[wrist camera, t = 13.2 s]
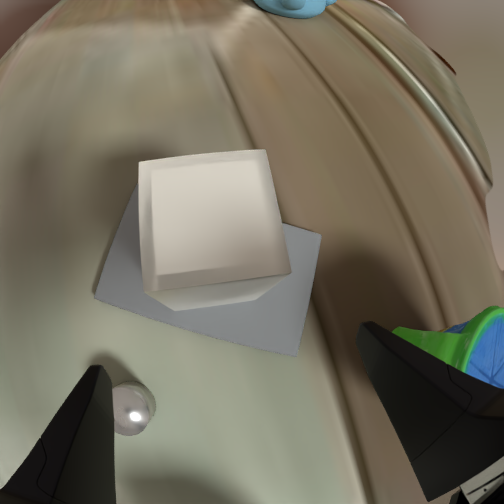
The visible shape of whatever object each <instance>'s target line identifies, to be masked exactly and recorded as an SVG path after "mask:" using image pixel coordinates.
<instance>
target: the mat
mask: <svg viewBox="0 0 504 504" xmlns="http://www.w3.org/2000/svg"><path fill="white" fill-rule="evenodd" d="M282 226H283V231H284V235H285V240H286V245H287V250H288V255H289V260H290V265H291V270H292V273H291V274H289V275H288V276H287V277H285V278H284V279H283V280H281V281H280V282H279V283H277V284H276V285H275V286H274V287H272V288H271V289H270V290H268V291H267V292H266V293H264V294H263V295H262V296H260V297H259V298H258V299H256V300H252V301H246V302H239V303H232V304H225V305H218V306H211V307H203V308H195V309H188V310H179V311H174V310H172V309H170V308H169V307H167V306H165V305H164V304H162V303H160V302H159V301H157V300H155V299H154V298H152V297H151V296H149V295H147V294H146V293H144V290H143V279H142V266H141V252H140V232H139V184H136V187H135V189H134V191H133V193H132V196H131V198H130V200H129V202H128V205H127V207H126V210H125V212H124V214H123V217H122V219H121V222H120V224H119V227H118V229H117V232H116V235H115V237H114V240H113V243H112V245H111V248H110V251H109V253H108V256H107V259H106V262H105V265H104V268H103V271H102V274H101V277H100V280H99V283H98V286H97V290H96V293H95V296H94V298H95V299H97V300H100V301H103V302H105V303H108V304H111V305H113V306H116V307H119V308H122V309H124V310H127V311H130V312H133V313H136V314H139V315H142V316H145V317H148V318H151V319H154V320H157V321H160V322H163V323H166V324H169V325H172V326H176V327H179V328H182V329H186V330H189V331H192V332H196V333H199V334H203V335H206V336H210V337H214V338H217V339H221V340H225V341H229V342H233V343H237V344H240V345H245V346H249V347H253V348H257V349H261V350H266V351H270V352H275V353H279V354H284V355H289V356H294V357H297V353H298V349H299V345H300V341H301V336H302V332H303V328H304V323H305V319H306V314H307V309H308V305H309V300H310V295H311V290H312V285H313V280H314V275H315V270H316V264H317V259H318V253H319V248H320V242H321V236H322V235H320V234H317V233H314V232H311V231H307V230H304V229H301V228H298V227H294V226H291V225H288V224H284V223H282Z"/></svg>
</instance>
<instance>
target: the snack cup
mask: <svg viewBox="0 0 504 504" xmlns="http://www.w3.org/2000/svg"><path fill="white" fill-rule="evenodd" d="M392 333H394V334H396V335H398V336H399V337H401V338H403V339H405V340H407V341H408V342H410V343H412V344H414V345H415V346H417V347H419V348H421V349H423V350H424V351H426V352H428V353H430V354H431V355H433V356H435V357H437V358H439V359H440V360H442V361H444V362H446V364H447V363H448V364H449V365H451V366H453V367H455V368H457V369H459V370H460V371H462V372H464V373H466V374H468V375H471V376H473V377H475V378H477V379H479V380H482V381H484V382H486V383H489V384H491V385H493V386H496V387H498V388H502V389H504V308H500V307H499V306H490V307H488V308H486V309H485V310H484V311H483V312H481V313H479V314H478V315H476V316H475V317H474V318H473V319H471V320H470V321H467V322H465V323H463V324H459V325H455V326H452V327H449V328H446V329H443V330H440V331H437V332H436V331H422V330H413V329H408V328H405V327H397V328H396V329H394V330H393V331H392Z"/></svg>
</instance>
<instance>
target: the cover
mask: <svg viewBox="0 0 504 504" xmlns="http://www.w3.org/2000/svg"><path fill="white" fill-rule="evenodd" d="M139 232H140V252H141V266H142V279H143V290H144V293H146V294H147V295H149V296H151V297H152V298H154V299H155V300H157V301H159V302H160V303H162V304H164V305H165V306H167V307H169V308H170V309H172V310H174V311H179V310H188V309H195V308H203V307H211V306H218V305H225V304H232V303H239V302H246V301H252V300H256V299H258V298H259V297H260V296H262V295H263V294H264V293H266V292H267V291H268V290H270V289H271V288H272V287H274V286H275V285H276V284H277V283H279V282H280V281H281V280H283V279H284V278H285V277H287V276H288V275H289V274H291V273H292V270H291V265H290V260H289V255H288V250H287V245H286V240H285V235H284V231H283V226H282V221H281V216H280V212H279V207H278V203H277V198H276V193H275V189H274V184H273V180H272V176H271V171H270V167H269V163H268V158H267V154H266V150H265V149H261V150H243V151H229V152H217V153H206V154H196V155H187V156H178V157H170V158H162V159H155V160H148V161H142V162H139Z"/></svg>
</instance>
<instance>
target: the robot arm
mask: <svg viewBox="0 0 504 504" xmlns="http://www.w3.org/2000/svg"><path fill="white" fill-rule="evenodd" d="M356 345H357V348H358V350H359V353H360V355H361V358H362V361H363V363H364V366H365V368H366V371H367V374H368V376H369V378H370V381H371V383H372V385H373V387H374V389H375V390H376V392H377V394H378V396H379V398H380V400H381V402H382V404H383V406H384V408H385V410H386V412H387V415H388V417H389V419H390V421H391V423H392V425H393V427H394V429H395V431H396V433H397V435H398V437H399V439H400V441H401V444H402V446H403V448H404V450H405V452H406V454H407V456H408V459H409V461H410V462H411V466H412V468H413V470H414V472H415V474H416V477H417V479H418V481H419V483H420V486H421V488H422V490H423V493H424V495H425V497H426V499H427V501H428V502H430V501H432V500H434V499H436V498H438V497H440V496H442V495H443V494H445V493H447V492H449V491H451V490H453V489H455V488H456V487H458V486H459V487H460V490H458V491H457V492H456V493H454V494H453V495H452V496H451V500H450V503H449V504H504V389H502V388H498V387H496V386H493V385H491V384H489V383H486V382H484V381H482V380H479V379H477V378H475V377H473V376H471V375H468V374H466V373H464V372H462V371H460V370H459V369H457V368H455V367H453V366H451V365H449V364H448V363H447V364H446V362H444V361H442V360H440V359H439V358H437V357H435V356H433V355H431V354H430V353H428V352H426V351H424V350H423V349H421V348H419V347H417V346H415V345H414V344H412V343H410V342H408V341H407V340H405V339H403V338H401V337H399V336H398V335H396V334H394V333H392V332H391V331H389V330H387V329H385V328H383V327H382V326H380V325H378V324H376V323H375V322H373V321H367V322H363V323H361V324H360V326H359V329H358V333H357V336H356ZM0 504H116V491H115V468H114V409H113V393H112V382H111V379H110V377H109V375H108V374H107V372H106V370H105V369H104V367H103V366H102V365H91V366H90V367H89V368H88V369H87V371H86V372H85V373H84V375H83V376H82V378H81V379H80V380H79V382H78V383H77V384H76V386H75V387H74V389H73V390H72V391H71V393H70V394H69V396H68V397H67V398H66V400H65V401H64V403H63V404H62V406H61V407H60V409H59V410H58V411H57V413H56V414H55V416H54V417H53V419H52V420H51V422H50V423H49V425H48V426H47V428H46V429H45V431H44V432H43V434H42V435H41V438H39V440H38V441H37V443H36V444H35V446H34V447H33V449H32V450H31V452H30V453H29V455H28V456H27V458H26V459H25V460H24V462H23V463H22V464H21V466H20V467H19V468H18V469H17V471H16V472H15V473H14V474H13V476H12V477H11V478H10V480H9V481H8V482H7V483H6V485H5V486H4V487H3V488H2V489H0Z"/></svg>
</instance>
